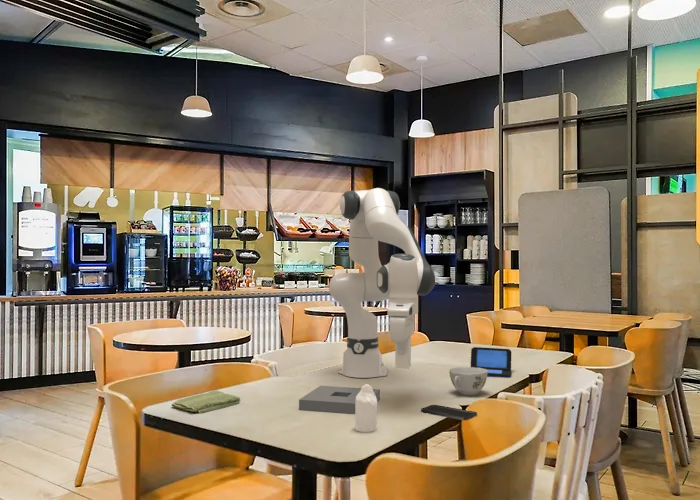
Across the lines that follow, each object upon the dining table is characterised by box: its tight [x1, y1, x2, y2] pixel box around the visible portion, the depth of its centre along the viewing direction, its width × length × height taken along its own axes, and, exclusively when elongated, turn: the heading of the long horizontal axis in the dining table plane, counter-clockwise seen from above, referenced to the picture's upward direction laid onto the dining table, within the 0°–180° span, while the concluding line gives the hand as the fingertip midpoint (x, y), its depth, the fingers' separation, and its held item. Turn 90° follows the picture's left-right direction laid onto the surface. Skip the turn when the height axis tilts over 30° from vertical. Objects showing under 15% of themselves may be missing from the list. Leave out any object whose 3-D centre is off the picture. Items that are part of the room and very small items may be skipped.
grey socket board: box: [298, 385, 381, 415], centre depth 185 cm, size 20×20×3 cm
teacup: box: [448, 366, 488, 396], centre depth 199 cm, size 15×12×8 cm
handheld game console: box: [470, 346, 512, 379], centre depth 234 cm, size 16×13×9 cm
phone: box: [420, 404, 478, 421], centre depth 175 cm, size 8×1×15 cm
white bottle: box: [354, 383, 378, 433], centre depth 159 cm, size 6×12×6 cm
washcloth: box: [171, 390, 241, 415], centre depth 183 cm, size 13×18×3 cm
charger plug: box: [394, 336, 412, 370], centre depth 183 cm, size 4×4×10 cm
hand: (403, 353), depth 183 cm, fingers closed on charger plug, 4 cm apart
